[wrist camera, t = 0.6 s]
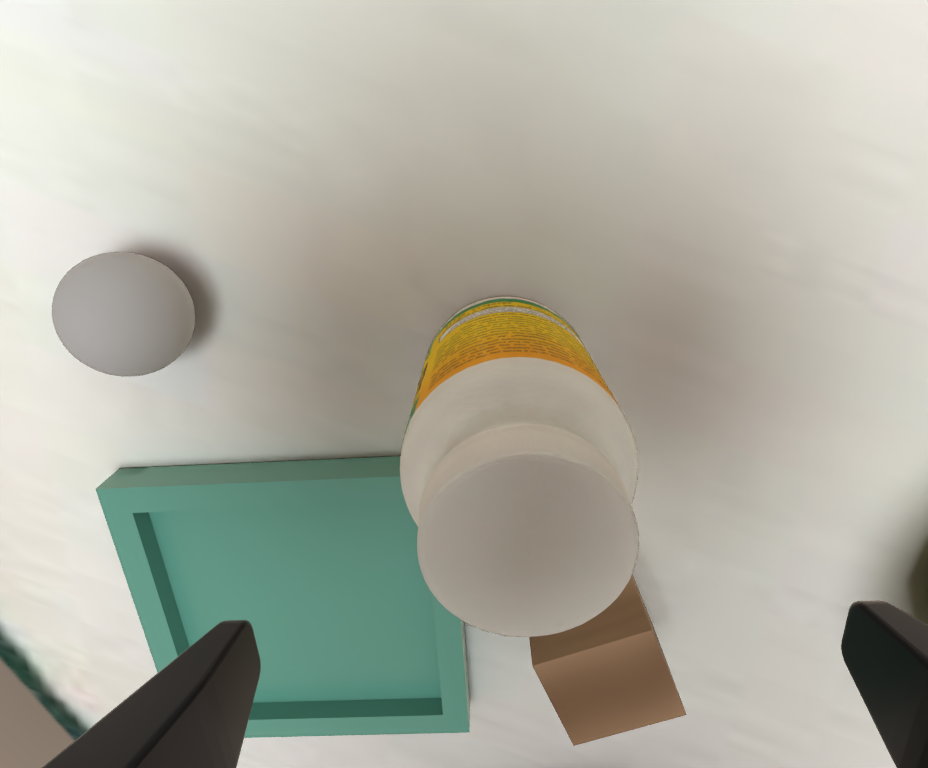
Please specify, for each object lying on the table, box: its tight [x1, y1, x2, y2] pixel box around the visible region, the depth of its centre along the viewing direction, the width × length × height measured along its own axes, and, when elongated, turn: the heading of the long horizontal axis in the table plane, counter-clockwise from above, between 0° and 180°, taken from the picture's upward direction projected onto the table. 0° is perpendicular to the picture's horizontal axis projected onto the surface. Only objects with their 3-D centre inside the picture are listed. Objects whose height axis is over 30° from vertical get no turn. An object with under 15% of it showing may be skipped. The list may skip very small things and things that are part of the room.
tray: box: [96, 456, 470, 738], centre depth 22 cm, size 12×12×1 cm
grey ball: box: [52, 252, 195, 376], centre depth 17 cm, size 4×4×4 cm
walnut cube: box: [530, 575, 686, 746], centre depth 21 cm, size 4×4×4 cm
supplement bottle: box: [400, 297, 639, 637], centre depth 15 cm, size 5×5×10 cm
